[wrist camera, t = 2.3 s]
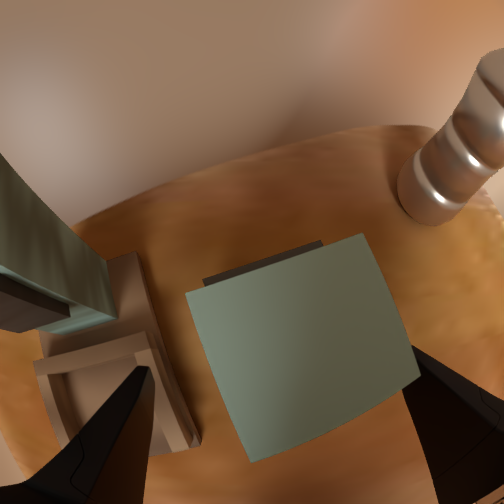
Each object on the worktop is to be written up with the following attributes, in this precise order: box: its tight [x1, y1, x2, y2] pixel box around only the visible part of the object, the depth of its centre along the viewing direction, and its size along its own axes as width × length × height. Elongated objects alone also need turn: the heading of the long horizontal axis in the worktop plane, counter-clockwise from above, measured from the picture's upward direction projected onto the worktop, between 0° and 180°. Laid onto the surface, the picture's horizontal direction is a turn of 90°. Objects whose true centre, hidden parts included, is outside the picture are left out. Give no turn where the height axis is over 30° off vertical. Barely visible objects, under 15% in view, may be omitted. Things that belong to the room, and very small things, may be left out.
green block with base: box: [0, 153, 202, 456], centre depth 9 cm, size 13×9×13 cm
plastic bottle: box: [397, 48, 504, 226], centre depth 13 cm, size 6×7×20 cm
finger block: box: [185, 233, 421, 463], centre depth 11 cm, size 5×4×12 cm
